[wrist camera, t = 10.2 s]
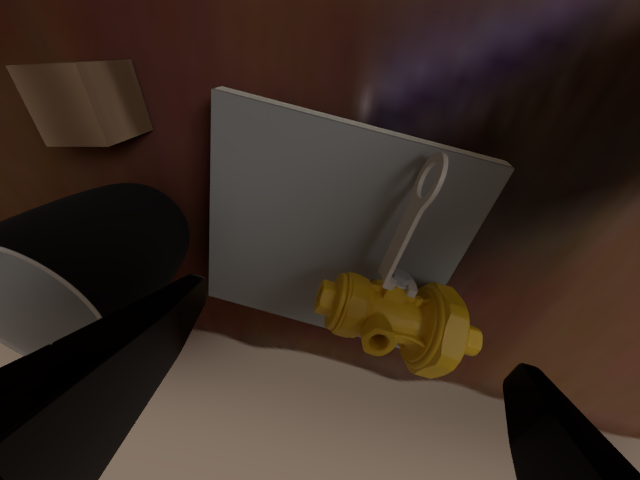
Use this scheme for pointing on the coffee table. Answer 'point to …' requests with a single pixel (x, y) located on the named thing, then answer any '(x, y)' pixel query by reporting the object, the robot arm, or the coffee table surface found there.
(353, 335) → the pressure relief valve
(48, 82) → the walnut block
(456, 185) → the stand
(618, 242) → the coffee table surface
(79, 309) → the mug
